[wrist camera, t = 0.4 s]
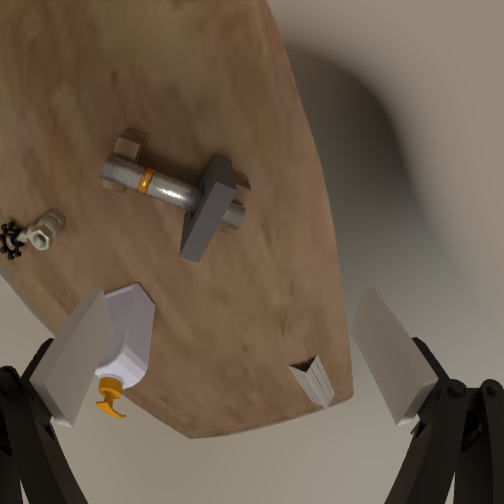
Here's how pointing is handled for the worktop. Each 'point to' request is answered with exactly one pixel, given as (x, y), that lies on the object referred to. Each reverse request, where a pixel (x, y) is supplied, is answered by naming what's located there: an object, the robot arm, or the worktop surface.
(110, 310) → the soap bottle
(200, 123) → the worktop surface
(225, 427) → the worktop surface
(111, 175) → the pipe
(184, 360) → the worktop surface
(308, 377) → the corner bead
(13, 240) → the valve
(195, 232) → the collar
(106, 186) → the saddles
